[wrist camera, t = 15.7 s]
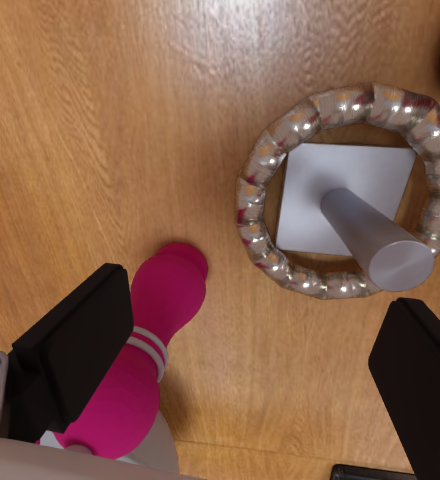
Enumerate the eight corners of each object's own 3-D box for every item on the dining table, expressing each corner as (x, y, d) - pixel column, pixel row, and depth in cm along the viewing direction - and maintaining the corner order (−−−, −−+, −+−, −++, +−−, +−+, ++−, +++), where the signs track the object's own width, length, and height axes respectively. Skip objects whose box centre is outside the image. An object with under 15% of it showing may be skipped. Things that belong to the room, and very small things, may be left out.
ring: (501, 86, 18) (538, 80, 16) (410, 299, 26) (425, 317, 23) (243, 81, 20) (241, 75, 18) (231, 280, 28) (228, 294, 25)
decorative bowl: (10, 344, 40) (-84, 427, 29) (166, 324, 34) (121, 421, 23) (88, 446, 49) (40, 537, 39) (220, 446, 43) (207, 554, 32)
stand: (409, 146, 21) (577, 171, 10) (374, 252, 26) (466, 353, 14) (287, 141, 22) (317, 157, 11) (273, 243, 27) (284, 330, 15)
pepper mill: (217, 246, 28) (140, 473, 10) (207, 298, 31) (133, 544, 13) (153, 231, 28) (-37, 424, 10) (149, 284, 31) (-2, 504, 13)
